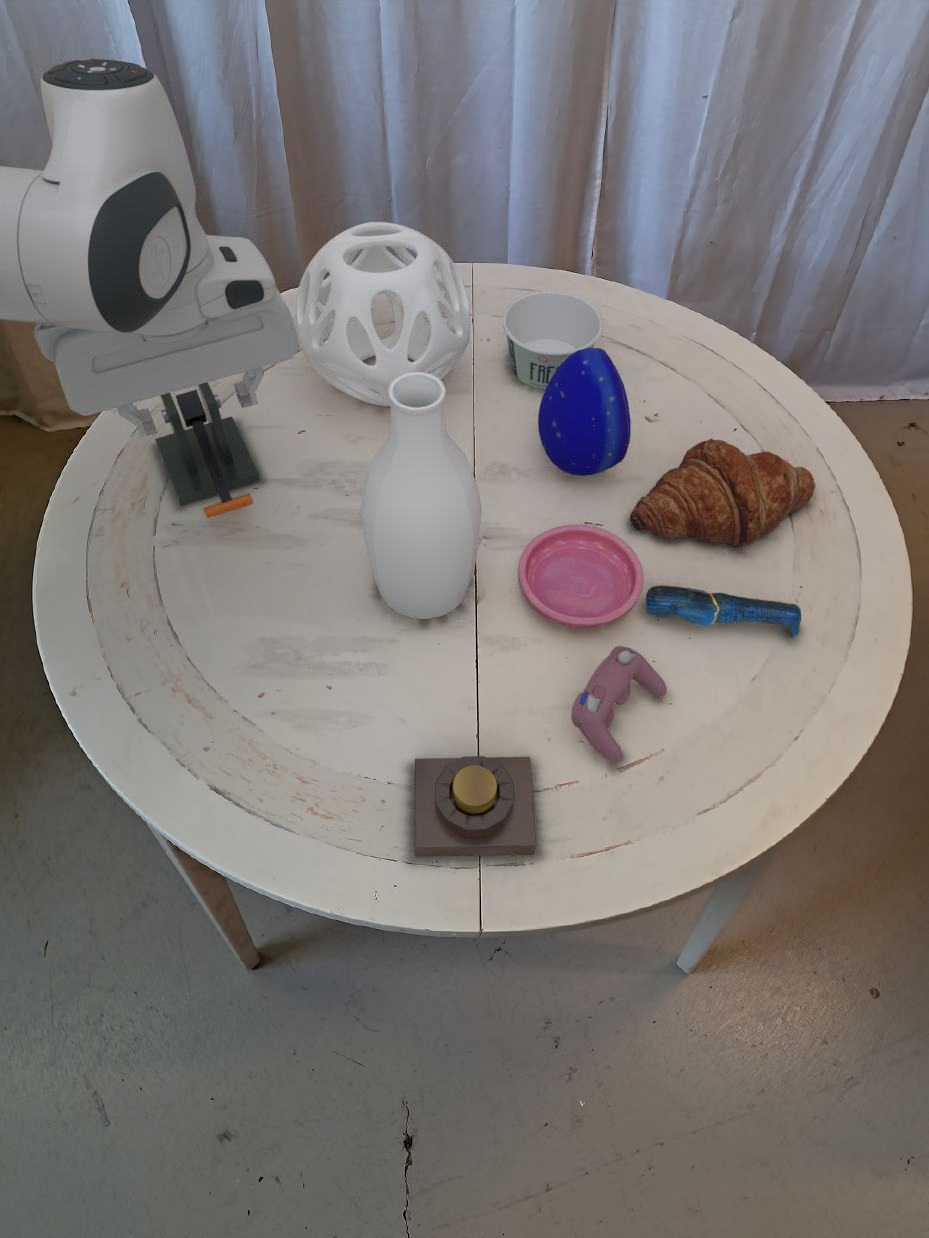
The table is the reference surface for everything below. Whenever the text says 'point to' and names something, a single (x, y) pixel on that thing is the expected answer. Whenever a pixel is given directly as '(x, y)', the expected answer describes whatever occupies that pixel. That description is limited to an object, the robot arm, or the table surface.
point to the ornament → (585, 414)
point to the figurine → (720, 608)
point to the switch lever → (209, 455)
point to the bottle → (420, 505)
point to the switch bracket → (188, 458)
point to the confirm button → (474, 789)
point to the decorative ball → (353, 297)
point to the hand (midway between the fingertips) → (198, 416)
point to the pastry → (723, 495)
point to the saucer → (580, 576)
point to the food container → (548, 333)
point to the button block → (473, 834)
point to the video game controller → (612, 697)
